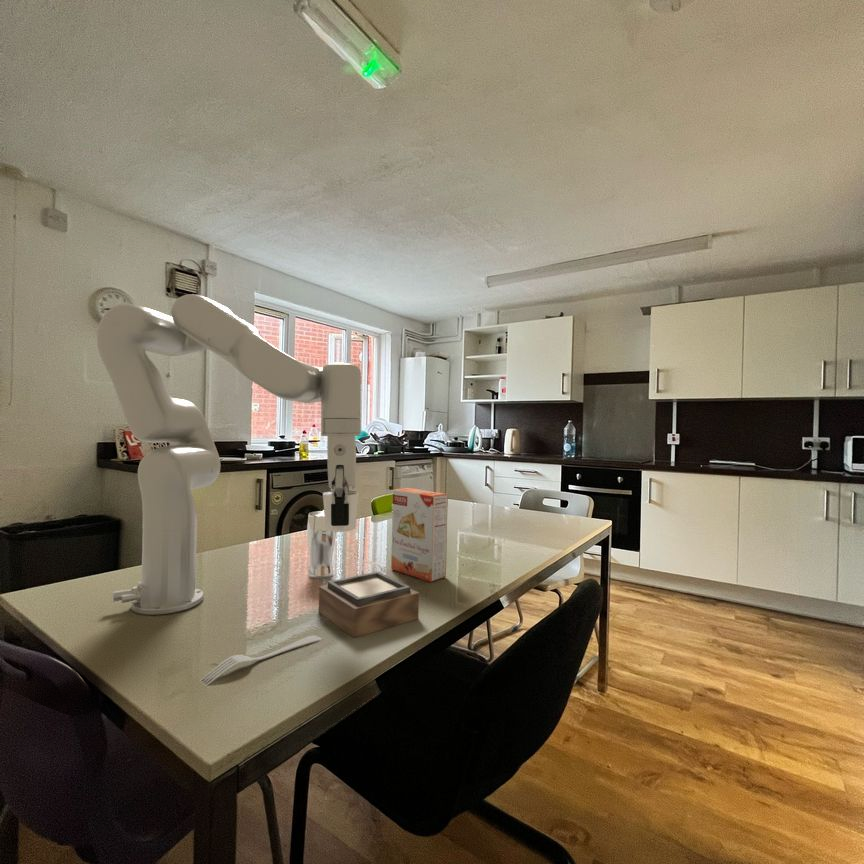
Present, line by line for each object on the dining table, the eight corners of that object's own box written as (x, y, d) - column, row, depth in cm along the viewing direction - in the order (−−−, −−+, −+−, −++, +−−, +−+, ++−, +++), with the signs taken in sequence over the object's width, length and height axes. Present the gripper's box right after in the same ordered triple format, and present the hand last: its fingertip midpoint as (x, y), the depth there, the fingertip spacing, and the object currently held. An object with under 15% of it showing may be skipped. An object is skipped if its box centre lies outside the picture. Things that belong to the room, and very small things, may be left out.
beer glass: (299, 575, 113) (301, 514, 113) (319, 568, 119) (320, 509, 119) (322, 580, 110) (323, 517, 110) (341, 573, 116) (342, 512, 116)
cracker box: (389, 570, 119) (391, 488, 119) (406, 565, 124) (408, 486, 124) (430, 583, 110) (432, 495, 110) (446, 577, 115) (449, 492, 114)
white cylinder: (315, 528, 90) (315, 492, 90) (345, 523, 95) (345, 489, 95) (335, 534, 85) (335, 495, 85) (365, 528, 90) (366, 492, 90)
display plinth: (354, 637, 81) (354, 603, 81) (318, 611, 92) (319, 581, 92) (418, 618, 90) (419, 587, 90) (379, 596, 100) (379, 569, 100)
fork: (325, 654, 80) (326, 638, 80) (202, 691, 64) (205, 671, 64) (315, 649, 82) (316, 633, 82) (193, 684, 66) (196, 664, 66)
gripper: (360, 428, 82) (360, 530, 82) (361, 428, 99) (360, 513, 99) (316, 428, 80) (316, 532, 81) (324, 428, 98) (324, 513, 98)
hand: (340, 520), depth 90 cm, fingers closed on white cylinder, 6 cm apart
